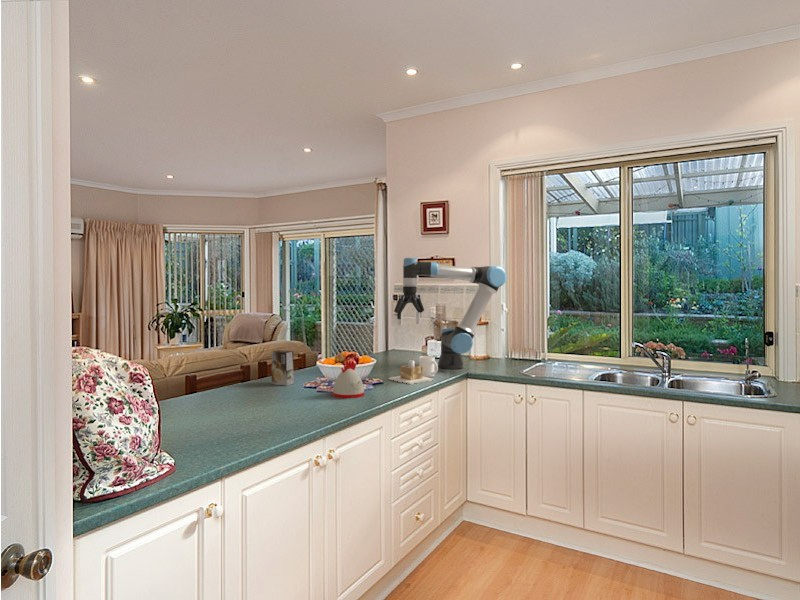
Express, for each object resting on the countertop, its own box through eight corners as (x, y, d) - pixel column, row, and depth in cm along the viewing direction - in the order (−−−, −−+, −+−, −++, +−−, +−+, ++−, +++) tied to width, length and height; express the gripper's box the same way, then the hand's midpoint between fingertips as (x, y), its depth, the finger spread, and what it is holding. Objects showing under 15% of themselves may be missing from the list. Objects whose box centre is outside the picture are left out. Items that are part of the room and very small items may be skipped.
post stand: (411, 375, 279) (412, 357, 278) (433, 380, 267) (433, 361, 266) (389, 379, 268) (389, 360, 268) (410, 384, 256) (410, 364, 256)
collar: (411, 376, 273) (411, 364, 273) (422, 378, 267) (422, 366, 267) (400, 377, 268) (400, 366, 267) (411, 380, 262) (411, 368, 262)
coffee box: (294, 383, 255) (294, 351, 254) (286, 386, 249) (286, 352, 248) (278, 381, 259) (278, 349, 258) (270, 384, 253) (270, 351, 252)
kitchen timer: (370, 395, 232) (370, 361, 232) (346, 400, 222) (347, 365, 222) (349, 390, 242) (349, 358, 241) (326, 395, 232) (326, 361, 231)
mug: (442, 377, 276) (443, 358, 275) (431, 379, 270) (431, 359, 270) (426, 374, 285) (427, 355, 284) (415, 375, 279) (416, 356, 279)
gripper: (421, 285, 297) (420, 322, 298) (388, 285, 280) (387, 325, 281) (430, 286, 291) (430, 323, 292) (397, 286, 275) (396, 326, 276)
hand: (409, 324), depth 287 cm, fingers open, 13 cm apart
